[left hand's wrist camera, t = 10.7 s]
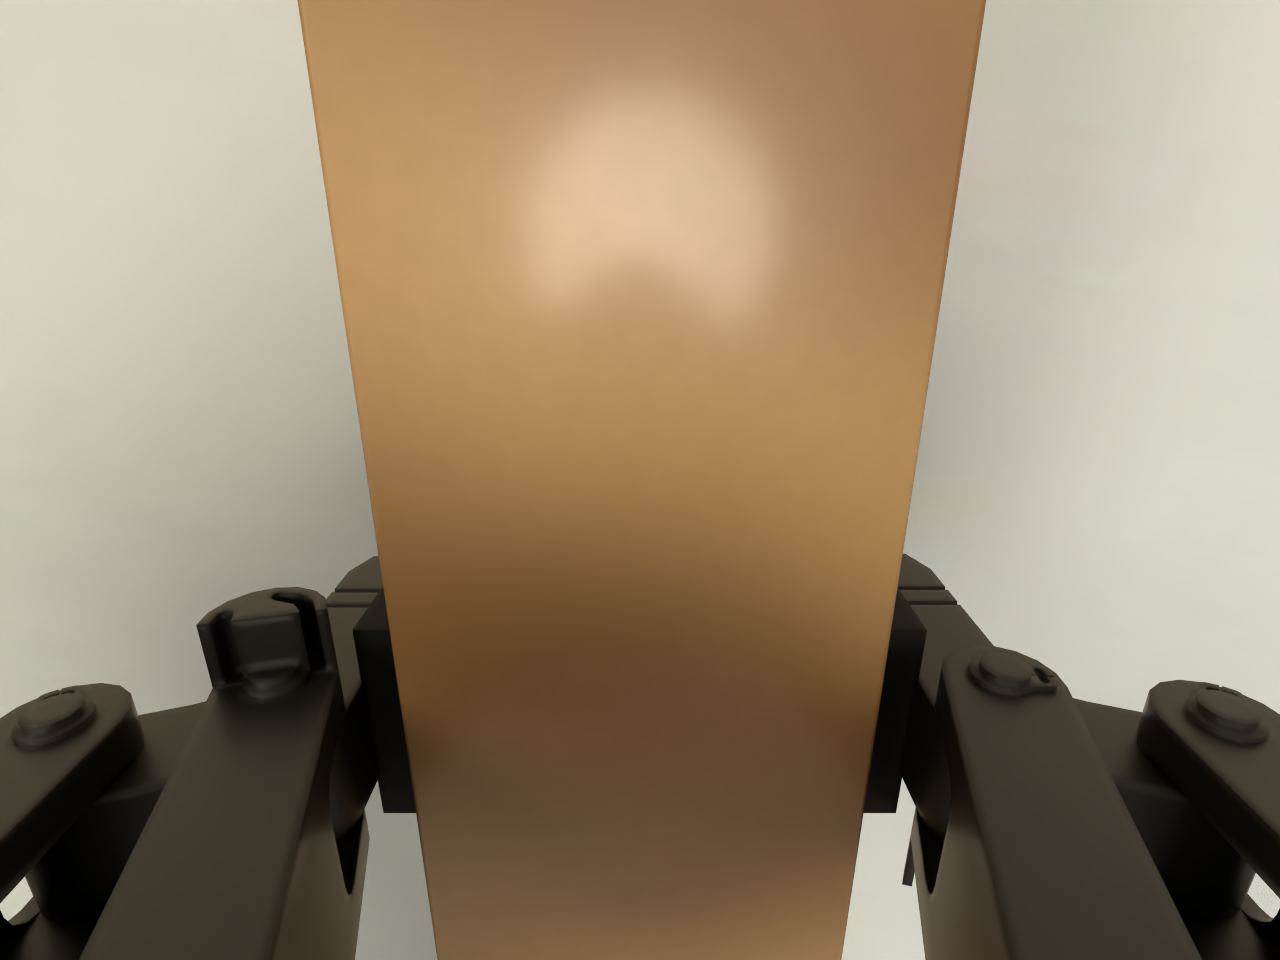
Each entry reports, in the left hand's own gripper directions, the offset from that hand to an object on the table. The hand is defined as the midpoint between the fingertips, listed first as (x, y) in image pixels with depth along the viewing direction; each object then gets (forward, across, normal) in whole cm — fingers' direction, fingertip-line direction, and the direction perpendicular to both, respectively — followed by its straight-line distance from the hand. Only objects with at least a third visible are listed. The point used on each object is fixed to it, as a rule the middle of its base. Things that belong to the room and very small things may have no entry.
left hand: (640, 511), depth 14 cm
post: (+1, 0, -30) cm, 30 cm away
